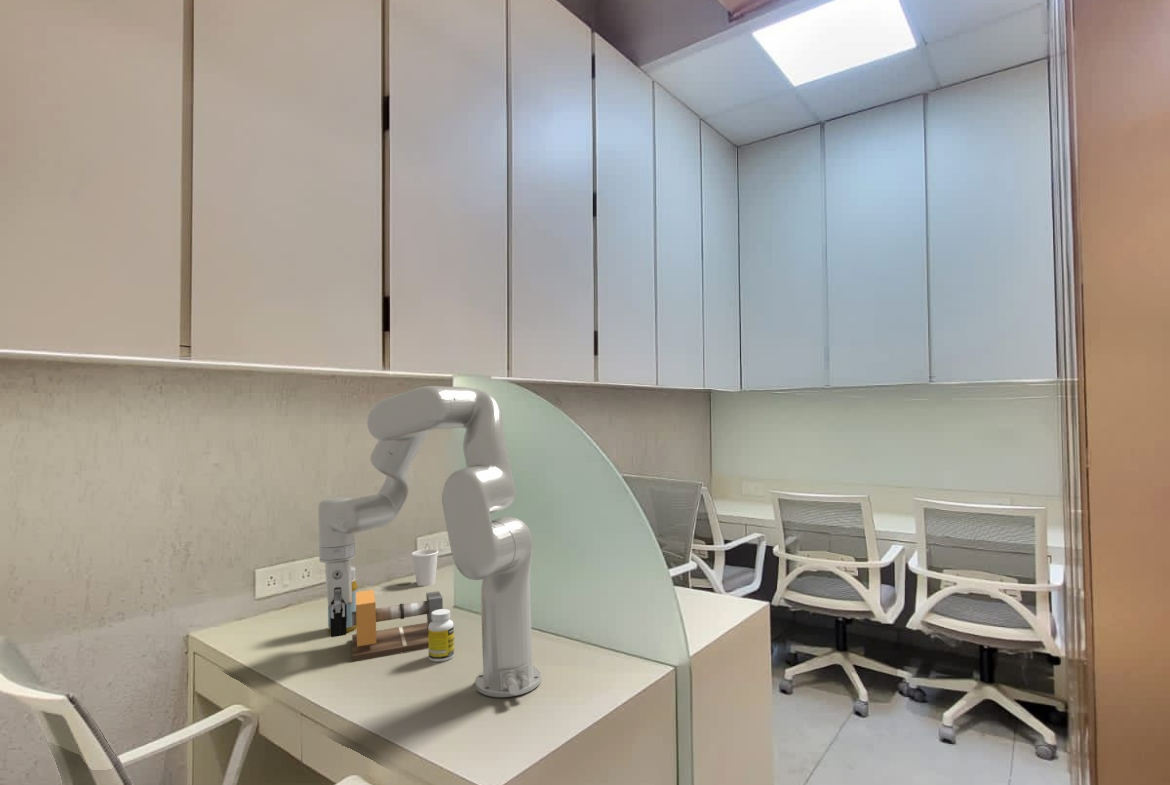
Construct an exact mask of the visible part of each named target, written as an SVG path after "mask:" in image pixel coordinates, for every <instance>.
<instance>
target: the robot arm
mask: <svg viewBox="0 0 1170 785" xmlns="http://www.w3.org/2000/svg"><path fill="white" fill-rule="evenodd" d="M374 404H375V405H373V407H372V408H371V409H370V410H369V413H368V416H367V423H366V424H367V429H368V432H369V433H370V435H371V436H372V437H373V438H375V439H376V440H377V442H376V444H375V446H374V448H373V450H372V452H371V453H370V459H369V460H370V463H371V464H372V466H373V467H374V468H375V469H376V470H377V471H378V472H380V473H382V474H383V475H384V476H386V477H385V480H384V482H383V484H382V486H381V487H380V489H379V491H378V493H376V494H372V495H366V496H360V497H357V498H351V497H347V496H336V497H329V498H324V499H322V500H321V501H319V504H318V507H317V508H318V509H317V510H318V549H319V550H318V554H319V557H318V559H319V562H320V563H323V564H324V563H325V587H326V588H325V589H326V597H327V598H326V599H327V607H328V606H329V607H330V608H331V618H330V627H331V632H330V637H331V638H337V637H342V636H343V637H344V636H347V635H348V634H347V633H348V632H347V629H346V621H347V608H346V604H349V605H350V604H351V603H352V579H351V566H352V563H351V562H352V561H351V560H353V559H355V558H356V542H355V541H356V539H355V538H356V535H355V534H359V533H362V532H368V531H371V530H373V529H378V528H381V527H386V526H387V525H389V524H391V523H392V522H393V521H394V520H395V519H396V518H397V517H398V515H399V514H400V512H401V510H402V508H403V507H404V505H405V503H406V502H407V498H408V497H409V493H410V492H409V491H410V477H409V473H408V470H409V469H410V467H411V465H412V463H413V462H414V459H415V457H416V456H417V454H418V453H419V451H420V449H421V448H422V446H423V444H424V442H425V440H426V438H427V436H428V435H429V433H430V431H431V430H432V431H433V430H447V429H459V428H461V429H465V432H464V436H463V441H462V444H463V445H462V446H463V448H462V450H463V455H464V459H465V466H466V467H463V468H460V469H456V470H455V471H454V472H452V473H451V474H450V475H449V476H448V478H447V479H446V481H445V483H444V485H443V488H442V494H441V497H442V498H441V502H442V509H443V515H444V520H445V525H446V531H447V536H448V542H449V548H450V553H451V556H452V560H453V563H454V565H455V567H456V569H457V570H458V572H459V573H460V574H461V575H462V576H463V577H464V578H467V579H468V580H472V581H480V580H482V581H481V588H480V589H481V590H480V608H481V609H480V611H481V612H480V613H481V614H480V616H481V617H480V618H481V640H482V641H481V644H482V645H481V647H482V669H483V670H482V671H481V672H480V673H479V674H478V675H477V676H476V677H475V682H474V683H475V684H474V686H475V689H476V691H477V692H479V693H480V694H482V695H484V696H488V697H493V698H511V697H512V698H513V697H516V696H517V697H518V696H521V695H524V694H526V693H529V692H531V691H533V690H535V689H536V688H537V687H539V685H540V683H541V682H542V674H541V670H539V669H538V668H537V667H535V666H533V641H532V638H533V637H532V616H531V615H532V614H531V610H532V608H531V567H532V558H533V557H532V556H533V551H534V548H533V547H534V545H533V544H534V543H533V541H534V540H533V535H532V533H531V530H530V528H529V526H528V525H527V524H526V523H525V522H524V521H522V520H521V519H519V518H517V517H512V516H503V517H499V518H495V519H493V520H492V517H491V515H492V514H494V513H497V512H500V511H502V510H505V509H506V508H509V507H510V506H511V505H512V504H513V502H514V501H515V497H516V486H515V479H514V475H513V471H512V465H511V460H510V456H509V452H508V447H507V443H506V437H505V431H504V422H503V417H502V412H501V409H500V406H499V404H498V402H497V401H496V399H495V398H494V397H493V396H492V395H490V394H489V393H488V392H486V391H484V390H481V389H477V388H472V387H466V386H465V387H464V386H462V387H461V386H440V385H427V386H425V385H424V386H420V387H417V388H414V389H411V390H409V391H408V390H407V391H404V392H402V393H399V394H398V393H397V394H396V395H392V396H389V397H385V398H383V399H381V400H380V401H378V402H377V403H374Z"/></svg>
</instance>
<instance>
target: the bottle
mask: <svg viewBox="0 0 1170 785" xmlns="http://www.w3.org/2000/svg"><path fill="white" fill-rule="evenodd" d="M356 571H357V570H356V566H353V565H351V579H352V603H351V604H350V605H349V604H346V608H347V621H346V629H347V633H350V632H349V631H351V632H353V631H355V630H357V625H355V626H352V612H356V592H359V589H358V583H357V581H356V578H357V577H356ZM327 611H328V612H327V616H328V617H327V619H328V631H329V632H330V633H331V627H330V618H331V608H330V607H329V606H328V605H327ZM354 629H355V630H354ZM352 630H353V631H352Z"/></svg>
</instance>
